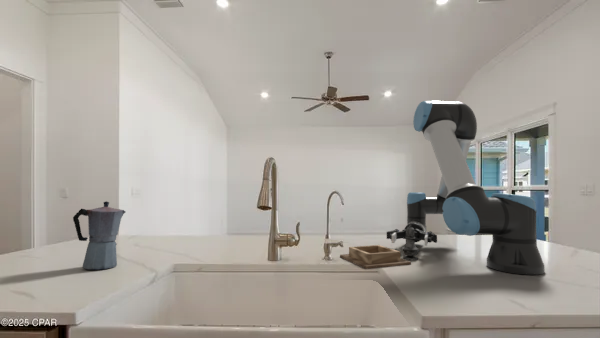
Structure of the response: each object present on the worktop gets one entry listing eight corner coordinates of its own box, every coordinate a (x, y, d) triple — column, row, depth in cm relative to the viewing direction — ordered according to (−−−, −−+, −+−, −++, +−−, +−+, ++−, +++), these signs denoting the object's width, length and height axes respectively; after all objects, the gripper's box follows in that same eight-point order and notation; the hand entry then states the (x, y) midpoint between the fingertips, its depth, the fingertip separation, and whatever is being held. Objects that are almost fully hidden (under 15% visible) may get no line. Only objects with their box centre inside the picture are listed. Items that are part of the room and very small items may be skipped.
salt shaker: (420, 260, 111) (420, 225, 112) (402, 259, 112) (402, 225, 113) (417, 257, 117) (417, 223, 117) (400, 256, 118) (400, 223, 119)
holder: (411, 264, 106) (410, 252, 106) (366, 268, 100) (366, 256, 100) (380, 253, 122) (380, 243, 122) (340, 257, 116) (340, 246, 116)
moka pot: (132, 263, 104) (134, 201, 105) (83, 276, 90) (86, 203, 91) (112, 260, 108) (114, 200, 109) (62, 271, 94) (65, 202, 95)
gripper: (445, 243, 127) (445, 254, 106) (385, 238, 136) (375, 248, 116) (445, 224, 127) (445, 231, 107) (385, 220, 136) (375, 227, 116)
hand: (408, 240), depth 111 cm, fingers open, 10 cm apart
